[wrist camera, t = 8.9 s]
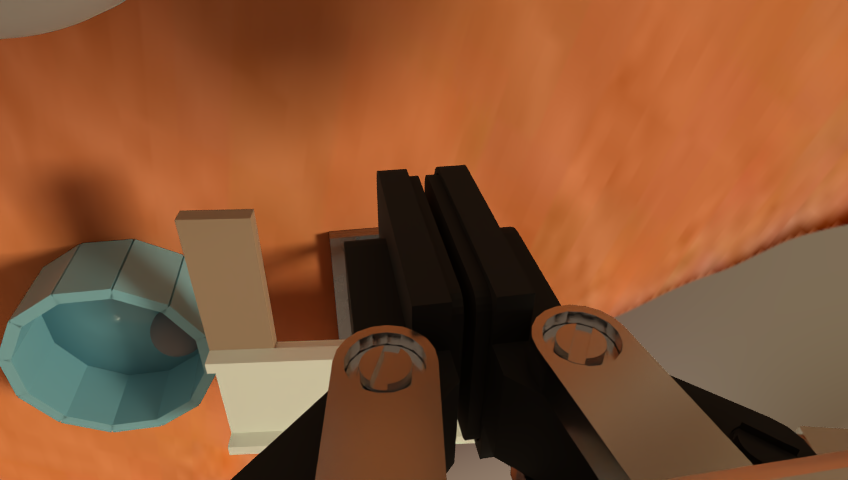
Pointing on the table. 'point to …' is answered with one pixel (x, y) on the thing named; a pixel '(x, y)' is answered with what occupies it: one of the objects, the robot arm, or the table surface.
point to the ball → (170, 337)
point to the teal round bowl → (106, 338)
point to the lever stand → (344, 273)
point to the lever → (249, 331)
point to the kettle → (47, 15)
